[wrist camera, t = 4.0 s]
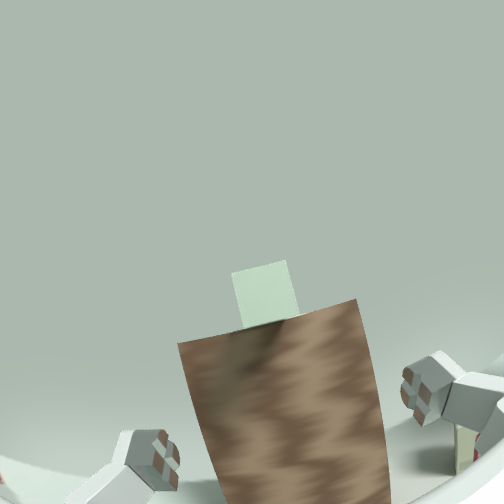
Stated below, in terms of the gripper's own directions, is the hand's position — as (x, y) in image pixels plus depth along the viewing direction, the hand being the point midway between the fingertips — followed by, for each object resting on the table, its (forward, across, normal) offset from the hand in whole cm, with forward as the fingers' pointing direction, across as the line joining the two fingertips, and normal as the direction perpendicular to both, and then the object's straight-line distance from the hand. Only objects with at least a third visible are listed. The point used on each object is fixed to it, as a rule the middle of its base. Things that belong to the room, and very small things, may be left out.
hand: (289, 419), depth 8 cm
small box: (+2, +21, -28) cm, 35 cm away
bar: (+16, 0, -6) cm, 17 cm away
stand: (+6, +1, -30) cm, 30 cm away
